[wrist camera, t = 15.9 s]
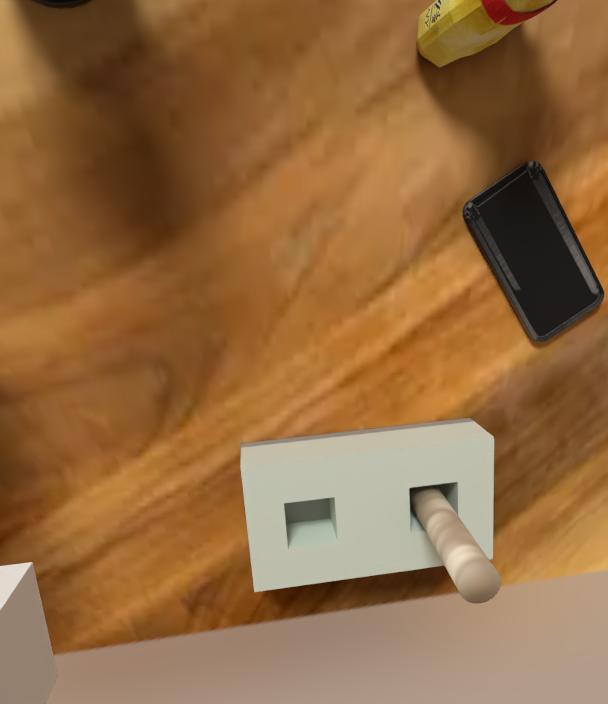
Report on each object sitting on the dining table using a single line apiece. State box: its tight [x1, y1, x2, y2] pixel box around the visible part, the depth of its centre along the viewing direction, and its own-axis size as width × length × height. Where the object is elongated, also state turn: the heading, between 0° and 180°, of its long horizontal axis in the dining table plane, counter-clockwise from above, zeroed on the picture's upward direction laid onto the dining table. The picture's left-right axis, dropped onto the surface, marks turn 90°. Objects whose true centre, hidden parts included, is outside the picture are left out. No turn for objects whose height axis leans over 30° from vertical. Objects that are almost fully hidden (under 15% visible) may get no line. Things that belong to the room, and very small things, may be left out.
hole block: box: [241, 418, 494, 592], centre depth 47 cm, size 22×12×5 cm, turn 95°
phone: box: [463, 161, 604, 342], centre depth 46 cm, size 8×1×15 cm
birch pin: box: [409, 485, 501, 603], centre depth 42 cm, size 3×3×14 cm
